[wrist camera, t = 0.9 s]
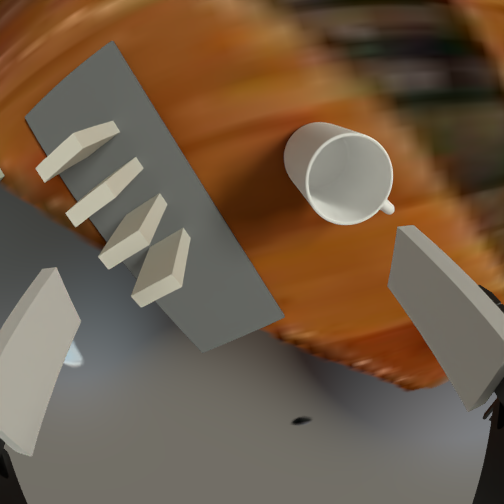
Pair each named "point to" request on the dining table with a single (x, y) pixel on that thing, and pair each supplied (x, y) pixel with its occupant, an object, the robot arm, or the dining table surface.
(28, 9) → the dining table surface
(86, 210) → the domino
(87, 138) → the domino
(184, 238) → the domino
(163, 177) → the slate mat
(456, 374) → the robot arm
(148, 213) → the domino
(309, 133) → the cup
